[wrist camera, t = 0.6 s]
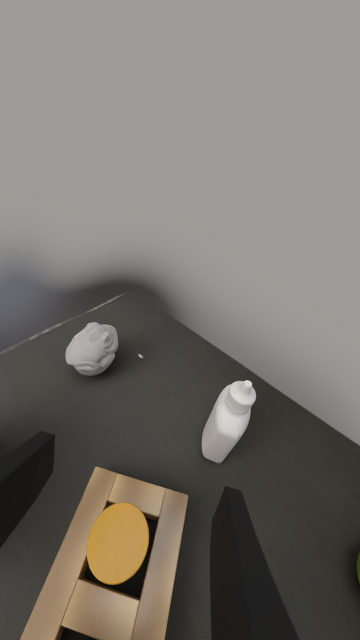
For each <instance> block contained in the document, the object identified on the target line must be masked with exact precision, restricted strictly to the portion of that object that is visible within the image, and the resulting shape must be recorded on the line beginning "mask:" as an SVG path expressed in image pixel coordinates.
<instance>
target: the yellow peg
mask: <svg viewBox="0 0 360 640" xmlns="http://www.w3.org/2000/svg"><path fill="white" fill-rule="evenodd" d="M148 544H149V529H148V524H147V521H146V518H145V516H144V514H143V513H142V512H141V510H140V509H139V508H138V507H136V506H135V505H133V504H131V503H127V502H119V503H115V504H113V505H111V506H109V507H107V508H106V509H105V510H104V511H103V512H102V513H101V514H100V515H99V516H98V517H97V519H96V520H95V522H94V524H93V525H92V528H91V530H90V533H89V536H88V540H87V560H88V564H89V567H90V569H91V571H92V573H93V575H94V576H95V577H96V578H97V579H98V580H99V581H101V582H103V583H105V584H109V585H115V584H120V583H123V582H125V581H126V580H128V579H129V578H131V577H132V576H133V575H134V574H135V573H136V572H137V571H138V570H139V568H140V566H141V564H142V563H143V561H144V558H145V556H146V553H147V549H148Z"/></svg>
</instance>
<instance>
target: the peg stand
mask: <svg viewBox="0 0 360 640" xmlns="http://www.w3.org/2000/svg"><path fill="white" fill-rule="evenodd" d="M119 502H127V503H131V504H133V505H135V506H136V507H138V508H139V509H140V510H141V512H142V513H143V514H144V516H145V518H148V519H151V520H154V521H158V522H157V526H156V530H155V534H154V539H153V543H152V547H151V552H150V556H149V560H148V565H147V569H146V573H145V578H144V582H143V586H142V591H141V595H140V599H139V598H138V597H135V596H132V595H129V594H126V593H124V592H121V591H118V590H115V589H112V588H110V587H107V586H104V585H101V584H98V583H95V582H93V581H90V580H87V579H84V578H83V577H84V574H85V571H86V569H87V566H88V560H87V540H88V536H89V533H90V530H91V528H92V525H93V524H94V522H95V520H96V519H97V517H98V516H99V515H100V514H101V513H102V512H103V511H104V510H105V509H106V508H107V507H109V505H110V506H111V505H113V504H115V503H119ZM187 502H188V495H186V494H183V493H180V492H177V491H173V490H170V489H167V488H166V489H165V488H163V487H160V486H157V485H154V484H151V483H147V482H144V481H141V480H138V479H135V478H131V477H128V476H125V475H122V474H119V473H118V474H117V473H116V472H112V471H109V470H106V469H103V468H99V467H95V470H94V472H93V474H92V476H91V479H90V481H89V483H88V485H87V488H86V490H85V492H84V495H83V497H82V499H81V501H80V504H79V506H78V508H77V510H76V513H75V515H74V517H73V520H72V522H71V524H70V526H69V529H68V531H67V533H66V535H65V538H64V540H63V542H62V545H61V547H60V549H59V551H58V554H57V556H56V558H55V560H54V563H53V565H52V567H51V570H50V572H49V574H48V576H47V579H46V581H45V583H44V586H43V588H42V590H41V592H40V595H39V597H38V599H37V601H36V604H35V606H34V608H33V611H32V613H31V615H30V617H29V620H28V622H27V624H26V626H25V629H24V631H23V633H22V636H21V638H20V640H61V638H62V635H63V632H64V629H65V627H66V628H69V629H71V630H74V631H77V632H79V633H82V634H85V635H87V636H90V637H93V638H95V639H98V640H164V639H165V633H166V627H167V621H168V615H169V609H170V603H171V598H172V592H173V586H174V580H175V574H176V568H177V562H178V556H179V550H180V544H181V538H182V532H183V526H184V520H185V514H186V508H187Z"/></svg>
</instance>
